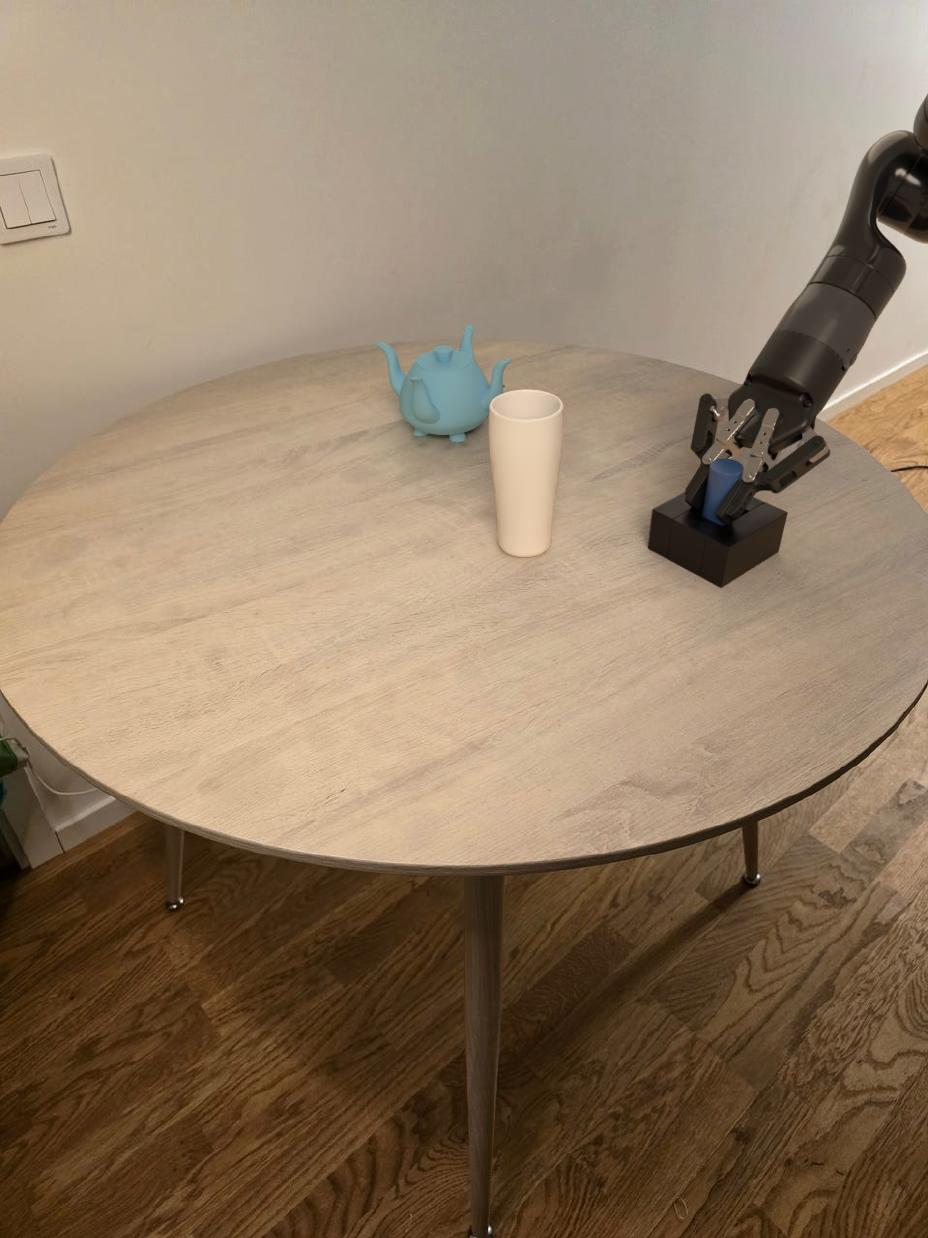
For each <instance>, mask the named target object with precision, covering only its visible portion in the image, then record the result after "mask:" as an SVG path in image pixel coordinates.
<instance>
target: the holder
mask: <svg viewBox="0 0 928 1238" xmlns="http://www.w3.org/2000/svg"><path fill="white" fill-rule="evenodd" d="M685 497H686V495H685V491H684V492H682V493H680V494H678V495H677V496H674V497H673V498H670V499H669V500H667V501H665V502H662V503H661V504H660V505H658V506H655V507H654V508H652V510H651V517H650V526H649V532H648V533H649V535H648V542H647V549H648V550H650V551H652V552H654V553H656V554H658V555H659V556H661V557H662V558H665V559H667V560H668V561H670V562H671V563H674V564H676V565H677V566H680V567H681V568H683V569H685V570H687V571H689V572H690V573H692V574H694V575H696V576H698V577H700V578H702V579H703V580H705V581H707V582H709V583H711V584H713V585H715V586H716V587H718V588H720V589H722V588H724V587H725V586H727V585H728V584H730V583H732V582H733V581H735V580H736V579H738V578H740V577H741V576H743V575H744V574H746V573H748V572H749V571H751V570H752V569H753V568H755V567H758V565H760V564H762V563H764V562H765V561H767V560H768V559H770V558H771V557H773V556H775V555H776V554H778V553H779V552H780V547H781V544H782V539H783V535H784V531H785V526H786V521H787V517H788V514H789V513H788V511H786V510H784V509H782V508H779V507H778V506H775V505H773V504H771V503H769V502H766V501H763V500H761V499H759V498H756V497H753V498H752V500H751V501H750V503H749V504H748V506H747V507H746V509H745V511H744V512H743V514H742V515H741V517H740V518H739V519H737V520H736V521H732V522H731V523H730V524H727V525H725V526H724V527H723V526H721V525H719V524H717V523H715V522H713V521H711V520H709V519H707V518H705V517H703V516H702V511H703V505H704V502H703V504H702V505H701V507H700V508H699V509H695V508H693V507H690V506H689V505H688V504H687V503H686V502H685Z"/></svg>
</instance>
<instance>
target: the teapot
mask: <svg viewBox="0 0 928 1238" xmlns="http://www.w3.org/2000/svg"><path fill="white" fill-rule="evenodd" d="M474 330H475V327H474V325H472V324H470V325H467V326H466V327H465V329H464V330H463V332H462V336H461V340H460V345H459V350H458V349H454V347H453V346H451V345H446V344H442V345H437V346H435V347H434V348H433V350H430V351H426V352H423V353H422V354H421V355H419V356H418V357H416V359H415V360H414V361H413V363H412V364H411V366H410V368H409V370H408V371H407V374H405V373H404V371H403V370H402V369H401V366H400V362H399V361H400V360H399V357H398V354H397V353H396V351H395V349H394V348H393V347H392V346H390V345H389V344H387V343H385V342H382V341H376V342H375V344H376V345H377V347H379V348H380V349H381V350H382V352H383V353H384V355H385V358H386V361H387V369H388V380H389V384H390V387H391V389H392V391H393V392H394V394H395V395H396V396H397V397H398V398H399V399H398V403H399V404H398V409H399V413H400V415H401V416H402V418H403V419H404V421H406V423H408V424H409V425H410V426H411V427H412V428H414V429H413V431H412V435H413V436H415V437H426V436H428V435H437V436H446V435H447V436H448V440H449V441H450V442H452V443H463V442H465V441H466V440H467V436H466V432H469V431H470V432H471V431H472V430H474V429H476V428H478V427H479V426H481V425H482V423H484V422H485V421H486V419H487V418H489V405H490V402H491V401H492V400H493V399H494V398H495V397H497V396H498V395H500V394H503V393H504V372H505V370H506V367H507V366H508V365H509V364H510V363H511V362H513V361H514V358H506V359H502V360H498V361H497V362H496V363H495V364H494V366H493V367H492V368H493V369H492V372H491V379H490V382H489V381H488V379H487V377H486V375H485V373H484V371H483V370H482V368H481V367H480V366H479V364H478V362H476V359H475V354H474V347H473V336H474Z"/></svg>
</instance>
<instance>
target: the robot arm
mask: <svg viewBox="0 0 928 1238" xmlns="http://www.w3.org/2000/svg"><path fill="white" fill-rule="evenodd" d="M878 223H881V224H882V225H884V226H886V227H888V228H889V229H892V230H894V231H895V232H898V233H899V234H902V235H903V236H905V237H907V238H909V239H911V240H912V241H914V242H917V243H920V244H925V245H928V93H927V94H926V96H925V97H924V99H923V101H922V102H921V104H920V106H919V107H918V109H917V112H916V114H915V116H914V121H913V125H912V131H909V130H905V129H904V130H903V129H900V130H894V131H891V132H889V133H887V134H885V135H883V136H882V137H880V138H879V139H878V140H876V141H875V142H874V143H873V144H872V145H871V146H870V147H869V149H867V151H866V153H865V154H864V155H863V157H862V159H861V161H860V164H859V165H858V168H857V171H856V173H855V176H854V179H853V181H852V185H851V189H850V191H849V196H848V199H847V202H846V206H845V210H844V212H843V216H842V219H841V221H840V223H839V226H838V229H837V231H836V234H835V236H834V237H833V241H832V242H831V244H830V247H829V248H828V249H827V251H826V252H825V255H824V256H823V258H822V259H821V261H820V263H819V265H818V266H817V267H816V269H815V270H814V272H813V274H812V275H811V276H810V279H809V280H808V282H807V283H806V285H805V287H804V288H803V289H802V290H801V292H800V293H799V295H798V296H797V297H796V298H795V299H794V300H793V302H792V303H791V304H790V305H789V307H788V308H787V309H786V311H785V313H784V314H783V316H782V317H781V319H780V320H779V322H778V324H777V325H776V327H775V328H774V330H773V332H772V333H771V335H770V336H769V337H768V339H767V341H766V343H765V344H764V345H763V347H762V349H761V350H760V352H759V354H758V355H757V357H756V358H755V359H754V361H753V363H752V365H751V366H750V367H749V369H748V371H747V374H746V377H745V379H744V381H743V383H742V384H741V385H740V386H739V387H738V388H736V389H735V390H734V391H732V392H731V393H730V395H729V396H725V397H724V396H722V397H713V396H712V395H711V393H708V392H707V393H706V392H705V393H704V394H702V395H701V396H700V397H699V401H698V405H697V406H698V407H697V411H696V415H695V416H696V417H695V422H694V427H693V431H692V437H691V443H690V449H691V451H692V453H694V454H695V456H696V457H697V458H698V459H699V461H700V465H699V466H698V469H697V470H696V472H695V473H694V475H693V476H692V477H691V479H690V481H689V483H688V484H687V485H686V487H685V490H684V492H685V495H686V497H685V502H686V503H687V504H688V505H689V506H690V507H693V508H695V509H699V508H700V507H701V505H702V504H703V502H704V498H705V492H706V486H707V480H708V474H709V468H710V464H711V462H712V461H714V460H717V459H732V460H734V459H735V458H738V457H740V455H742V453H743V452H744V451H745V449H750V451H749V459H748V461H747V464H746V466H745V467H744V471H743V475H742V480H741V481H739V480H737V481H736V482H735V484H734V485H733V487H732V488H731V490H730V491H729V493H728V495H727V496H726V498H725V499H724V501H723V502H722V504H721V505H720V507H719V509H718V510H717V512H716V517H717V518H718V519H719V520H720V521H721V522H723V523H725V524H730V523H731V522H732V520H734V521H736V520H737V519H739V518H740V517H741V515H742V514H743V512H744V511H745V509H746V507H747V506H748V504H749V503H750V501H751V500H752V498H753V497H754V496H755V495H756V494H757V493H758V492H761V491H766V492H768V491H769V492H771V493H773V494H777V495H778V494H780V493H781V492H783V491H784V490H786V489H787V488H789V487H790V486H791V485H793V484H794V483H795V482H796V481H798V480H800V479H801V478H802V477H803V476H805V475H806V474H808V473H809V472H810V471H812V470H813V469H814V468H816V467H817V466H819V464H821V463H822V462H824V461H825V460H827V459H828V458H829V457H830V456H831V449H830V447H829V445H828V443H827V442H826V439H824V437H823V436H821V435H818V434H817V433H816V432H815V428H816V419H817V416H818V415H819V414H820V413H821V412H822V411H823V410H824V408H825V406H826V405H827V404H828V402H829V401H830V399H831V397H832V396H833V394H834V393H835V391H836V389H837V388H838V387H839V385H840V384H841V382H842V381H843V379H844V377H845V375H846V374H847V372H848V371H849V370H850V368H851V367H852V366H853V365H854V364H855V362H857V361H856V360H857V359H858V356H859V354H860V353H861V351H862V349H863V348H864V346H865V344H866V342H867V340H868V338H869V336H870V334H871V331H872V330H873V327H874V326H875V324H876V323H877V321H878V320H879V319H880V316H881V315H882V313H883V312H884V310H885V309H886V307H887V305H888V304H889V302H890V301H891V299H892V298H893V297H894V295H895V293H896V292H897V291H898V289H899V288H900V286H901V284H902V283H903V280H904V278H905V276H906V272H907V263H906V262H907V261H906V259H905V257H904V255H903V254H902V252H901V251H900V250H899V249H898V248H897V247H896V246H895V244H894V243H892V242H891V241H890V240H889V238H888V237H886V236H885V234H884V233H882V231H881V230H880V229H879V226H878ZM727 412H728V413H727ZM726 413H727V414H728V422H727V423H726V424H725V425H724V426H723V428H722V429H721V430H720V431H719V432H718V434H717V430H718V425H719V423H720V422H721V423H722V422H723V420H724V418H725V415H726ZM795 444H797V445H796V449H795V450H794V451H792V452H790V453H789V455H787V456H786V457H784V458H783V459H782V460H781V461H779V462H778V460H779V458H780V456H781V454H782V452H783V450H785V449H787V448H789V447H791V446H793V445H795ZM777 462H778V463H777ZM754 498H755V497H754Z"/></svg>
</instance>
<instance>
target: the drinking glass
mask: <svg viewBox="0 0 928 1238" xmlns="http://www.w3.org/2000/svg"><path fill="white" fill-rule="evenodd" d="M564 408H565V407H564V402H563V400H562V399H560V398H559V396H557V395H555V394H553V393H552V392H548V391H545V390H539V389H516V390H509V391H506V392H503V393H502V394H500V395H498V396H497V397H495V398H494V399H493V400H492V401H491V402H490V405H489V415H488V449H489V458H490V459H489V460H490V469H491V478H492V488H493V495H494V497H493V498H494V507H495V517H496V526H497V527H496V529H497V531H496V532H497V535H496V537H497V544H498V546H499V548H500V549H501V550H502V551H503V553H505V554H508V555H509V556H513V557H517V558H533V557H536V556H539V555H542V554H543V553H545V552H546V551H548V549H549V547H550V546H551V544H552V537H553V521H554V513H555V507H556V506H555V505H556V500H557V499H556V497H557V492H558V485H559V478H560V470H561V464H562V463H561V462H562V454H563V443H564V427H565V426H564V422H565V419H564V416H565V415H564V414H565V413H564Z"/></svg>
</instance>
